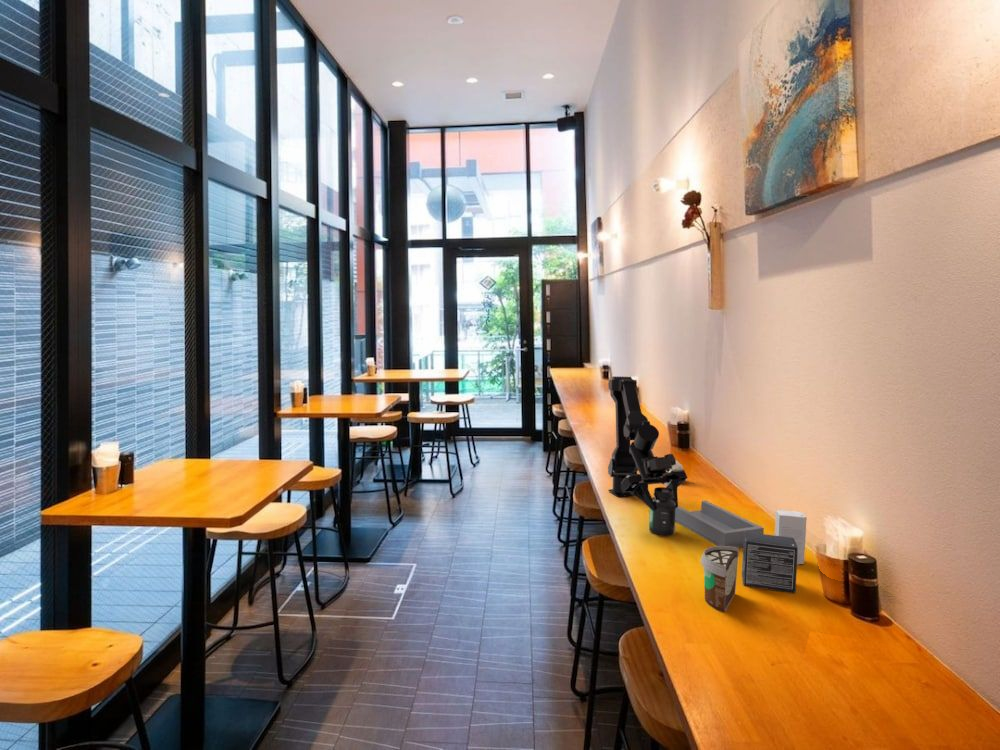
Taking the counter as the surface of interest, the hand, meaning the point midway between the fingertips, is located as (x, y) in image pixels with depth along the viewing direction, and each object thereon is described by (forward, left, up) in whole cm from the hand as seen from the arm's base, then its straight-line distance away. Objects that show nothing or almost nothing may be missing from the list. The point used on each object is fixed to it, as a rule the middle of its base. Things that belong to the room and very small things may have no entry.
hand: (665, 508), depth 154 cm
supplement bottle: (-1, 0, -7) cm, 7 cm away
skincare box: (+24, +19, -7) cm, 31 cm away
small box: (+32, +5, -7) cm, 33 cm away
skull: (-43, +32, -7) cm, 54 cm away
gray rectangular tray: (+1, +15, -7) cm, 17 cm away
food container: (+34, -11, -7) cm, 36 cm away
